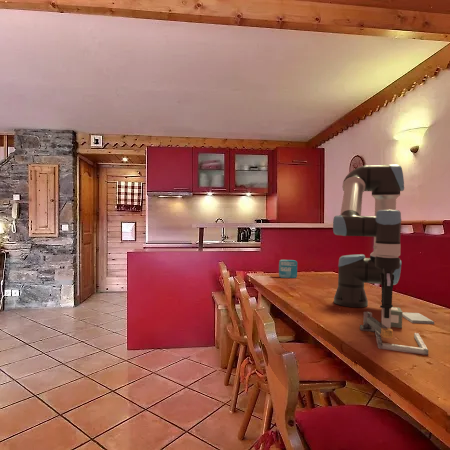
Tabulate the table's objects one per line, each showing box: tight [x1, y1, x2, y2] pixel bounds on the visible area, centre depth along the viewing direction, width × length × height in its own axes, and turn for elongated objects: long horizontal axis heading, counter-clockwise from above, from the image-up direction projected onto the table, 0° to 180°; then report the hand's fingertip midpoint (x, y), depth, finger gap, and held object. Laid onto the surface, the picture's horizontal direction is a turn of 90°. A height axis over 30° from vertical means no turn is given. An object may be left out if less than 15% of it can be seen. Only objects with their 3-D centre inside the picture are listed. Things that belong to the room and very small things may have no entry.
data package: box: [278, 259, 298, 279], centre depth 235 cm, size 12×4×12 cm, turn 87°
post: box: [359, 311, 375, 333], centre depth 123 cm, size 5×5×6 cm
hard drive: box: [402, 311, 435, 325], centre depth 138 cm, size 2×8×12 cm
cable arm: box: [367, 316, 394, 339], centre depth 113 cm, size 16×3×2 cm, turn 177°
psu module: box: [391, 306, 403, 329], centre depth 130 cm, size 7×6×6 cm
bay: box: [374, 329, 429, 356], centre depth 110 cm, size 16×13×2 cm
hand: (385, 326), depth 114 cm, fingers closed
